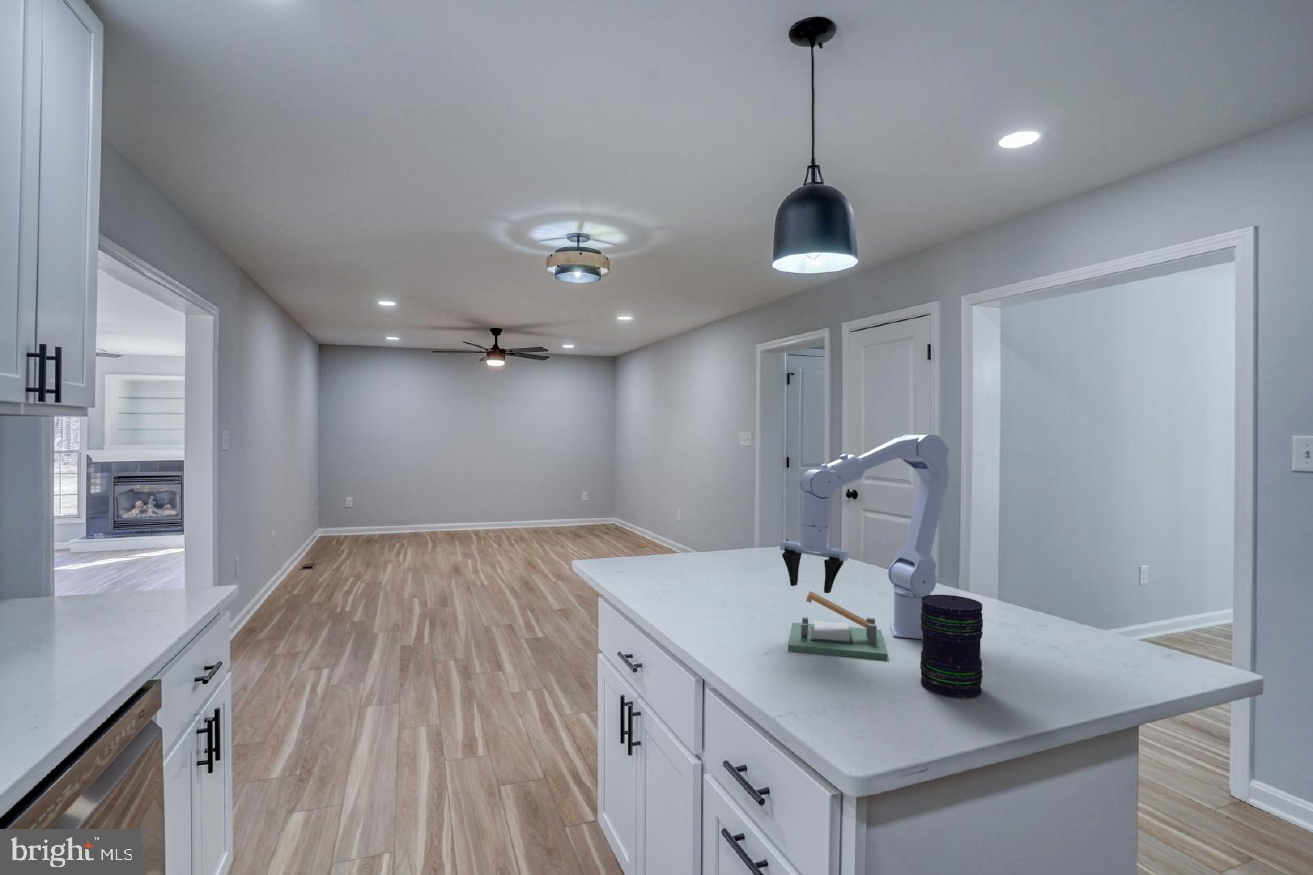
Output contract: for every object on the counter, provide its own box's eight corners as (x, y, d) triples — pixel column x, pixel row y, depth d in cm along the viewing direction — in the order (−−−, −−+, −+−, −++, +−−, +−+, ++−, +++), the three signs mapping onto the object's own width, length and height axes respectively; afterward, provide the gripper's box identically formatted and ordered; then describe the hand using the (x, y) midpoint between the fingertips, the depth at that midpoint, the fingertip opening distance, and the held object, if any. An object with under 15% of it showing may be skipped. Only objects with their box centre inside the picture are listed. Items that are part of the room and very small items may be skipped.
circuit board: (881, 635, 139) (881, 612, 139) (887, 660, 124) (887, 634, 124) (792, 627, 144) (792, 605, 144) (787, 650, 129) (788, 626, 129)
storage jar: (979, 703, 104) (980, 612, 104) (915, 690, 109) (916, 603, 109) (984, 683, 112) (985, 599, 112) (925, 672, 117) (925, 591, 117)
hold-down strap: (871, 631, 133) (874, 623, 133) (871, 635, 131) (875, 628, 130) (806, 597, 137) (810, 590, 137) (806, 600, 134) (809, 593, 134)
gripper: (775, 522, 137) (771, 584, 137) (841, 531, 129) (836, 598, 129) (789, 520, 143) (785, 580, 143) (853, 529, 134) (848, 593, 134)
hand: (810, 588), depth 136 cm, fingers open, 7 cm apart
